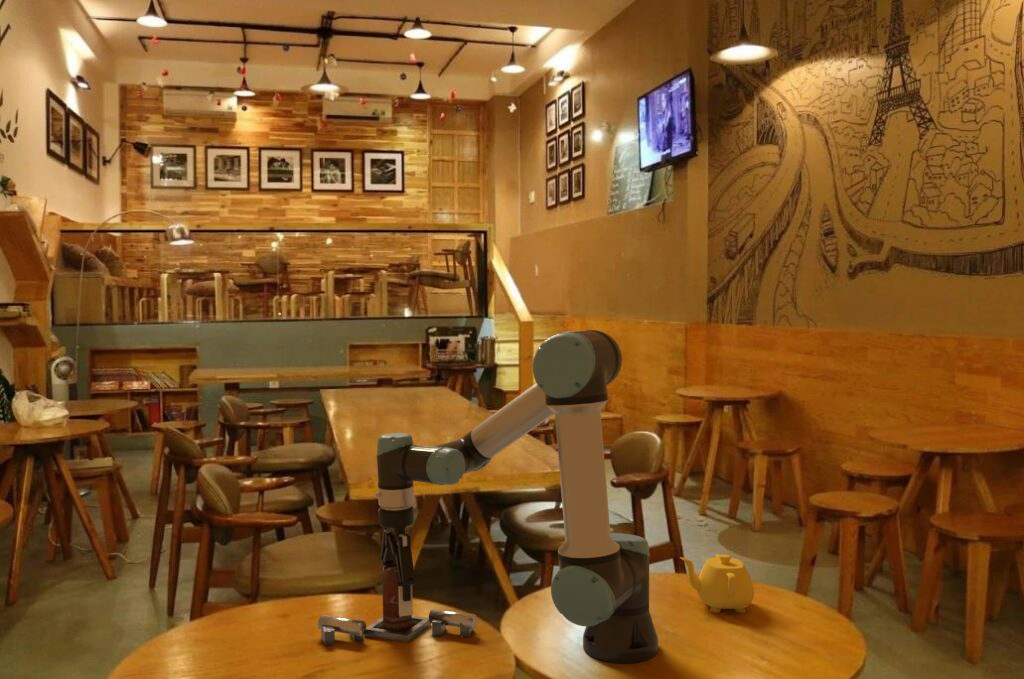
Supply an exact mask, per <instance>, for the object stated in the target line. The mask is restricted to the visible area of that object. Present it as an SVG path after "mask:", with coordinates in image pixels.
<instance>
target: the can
mask: <svg viewBox="0 0 1024 679" xmlns="http://www.w3.org/2000/svg"><path fill="white" fill-rule="evenodd" d="M383 567H384V569H383V570H382V572H381V581H382V582H381V584H382V588H381V589H382V617H383V628H382V629H384V630H390V631H396V632H403V633H405V632H407V631H408V630H410V629H411V628H412V627H413V625H412V616H413V615H408V616H401V617H400V616H399V587H397V583H398V582H400V580H399V575H398V569H397V564H392V565H388V566H383ZM406 579H409V578H406Z"/></svg>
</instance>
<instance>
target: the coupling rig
mask: <svg viewBox="0 0 1024 679" xmlns="http://www.w3.org/2000/svg"><path fill="white" fill-rule="evenodd" d="M477 623H478V617H477V615H476V614H475V613H465V612H460V611H459V612H458V611H452V610H447V609H439V608H431V609H430V611H429V613H428V617H423V616H418V615H412V628H411V629H410V630H408V631H407V632H405V633H403V632H396V631H390V630H384V629H383V616H382V617H380V618H378V619H377V620H376V621H374V622H372V623H371V624H369V625H368V626H367V622H366V621H365V620H360V618H355V619H353V618H346V617H339V616H333V615H327V614H321V615H320V616H319V618H318V621H317V628H318V629H319V630H320V639H321V640H322V641H321V642H322V643H323V645H324V647H329V646H335V645H336V643H335V642H336V640H335V636H336V634H335V633H341V634H347V635H350V637H351V639H352V641H353V642H360V641H361V642H362V641H364V640H365V638H364V636H365V637H369V638H375V639H383V640H387V641H392V642H393V641H394V640H395V641H394V642H399V641H401V642H400V643H405V642H406V643H409V642H410V641H412V640H413V639H414V638H416V637H417V636H419V635H420V634H421V633H423V632H424V631H425V630H427V629H428V628H430V627H431V629H432V630H431V636H432V637H443V634H444V633H445V631H446V630H447V626H448V627H454V628H459V637H460V638H469V637H471V636H472V633H473V631H474V630H475V629H476V627H477ZM461 636H463V637H461Z"/></svg>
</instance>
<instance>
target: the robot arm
mask: <svg viewBox="0 0 1024 679" xmlns="http://www.w3.org/2000/svg"><path fill="white" fill-rule="evenodd" d="M622 366H623V354H622V350H621V348H620V346H619V344H618V342H617V341H616V339H614V338H613V337H612V336H611V335H610V334H608V333H606V332H603V331H601V330H597V329H590V330H589V329H588V330H587V329H586V330H580V331H578V330H577V331H564V332H560V333H558V334H554V335H552V336H550V337H548V338H547V339H545V340H544V341H543V342H542V343H541V344H540V346H539V347H538V348H537V350H536V352H535V354H534V357H533V361H532V374H533V379H534V381H535V383H533V385H531V386H529V387H528V388H527V389H525V390H524V391H523V392H521V393H520V394H519V395H518V396H516V397H514V398H513V399H512V400H511V401H509V402H507V404H505V405H504V406H502V407H501V408H500V409H498V410H497V411H496V412H495V413H493V414H492V415H491V416H489V417H488V418H486V419H485V420H483V421H482V422H481V423H479V424H478V425H476V426H475V427H474V428H473V429H471V430H470V431H468V432H467V433H466V434H465V435H463V436H462V437H460V438H458V439H456V440H452V441H449V442H445V443H441V444H438V445H434V446H431V445H430V446H429V445H418V444H417V445H416V444H414V442H413V436H412V435H411V434H410V433H406V432H392V433H384V434H381V435H380V436H379V437H378V438H377V444H376V445H377V448H376V449H377V450H376V466H377V480H378V481H377V491H378V492H377V491H376V492H375V497H376V498H377V500H378V505H379V506H380V507H379V508H378V510H377V511H378V512H377V514H378V515H377V516H378V517H377V519H378V520H377V522H378V525H379V526H381V527H382V539H381V549H380V557H379V558H380V561H382V562H381V564H382V565H383V567H382V568H383V569H384V567H385V566H388V565H392V564H397V569H398V575H399V580H400V582H398V583H397V587H399V616H400V617H401V616H408V615H412V616H414V615H413V612H414V609H413V585H415V584H416V576H415V570H414V569H415V568H414V561H413V560H414V559H413V554H412V546H411V545H412V544H411V542H412V540H411V539H412V537H411V535H410V534H409V535H408V533H406V528H407V527H410V526H411V525H413V524H414V521H415V510H414V506H413V505H414V504H415V502H414V501H415V500H414V499H415V497H414V496H415V495H414V494H415V491H414V482H419V483H426V484H427V483H428V484H433V485H438V486H446V485H448V486H453V485H456V484H457V483H459V482H460V479H462V478H463V476H464V475H465V474H468V473H472V472H477V471H480V470H481V469H483V468H485V467H486V466H487V465H489V464H490V462H491V460H492V458H494V457H495V456H497V455H498V454H499V453H501V452H502V451H503V450H505V449H507V448H508V447H510V446H512V444H514V443H515V442H516V441H518V440H520V439H521V438H523V437H524V436H526V435H527V434H528V433H529V432H532V430H534V429H535V428H537V427H538V426H539V425H542V424H543V423H544V422H545V421H547V420H548V419H550V418H551V417H553V416H554V419H555V420H554V421H555V431H556V443H557V444H556V445H557V458H558V469H559V470H558V471H559V480H560V493H561V494H560V495H561V504H562V505H561V506H562V517H563V530H564V541H563V543H562V544H561V545H560V546H559V547H558V550H557V555H558V556H557V558H558V568H559V570H558V571H557V572H556V574H555V575H554V577H553V579H552V582H551V585H550V594H551V599H552V602H553V604H554V607H555V608H556V610H557V611H558V613H559V614H560V615H562V616H563V617H564V618H565V619H566V620H567V621H568V622H570V623H572V624H574V625H577V626H580V627H585V628H584V631H583V635H582V647H583V651H584V652H585V653H586V654H587V655H589V656H590V657H592V658H594V659H597V660H600V661H603V662H604V661H605V662H610V663H618V664H631V663H632V664H633V663H639V662H643V661H646V660H649V659H652V658H653V657H655V656H656V655H657V653H658V652H659V637H658V634H657V631H656V627H655V624H654V622H653V619H652V618H653V617H652V616H651V612H650V557H651V554H650V549H649V547H650V546H649V542H648V540H647V539H646V538H644V537H641V536H639V535H635V534H629V533H621V532H619V533H618V532H611V526H610V523H611V522H610V513H609V502H608V501H609V500H608V490H607V489H608V488H607V476H606V475H607V474H606V465H605V464H606V462H605V452H604V451H605V450H604V439H603V438H604V437H603V436H604V435H603V425H602V414H601V413H602V409H603V408H604V407H605V406H606V404H608V402H609V401H608V400H609V399H608V389H607V386H609V385H610V384H612V383H613V382H614V381H615V380H616V379H617V377H618V376H619V374H620V372H621V368H622ZM406 578H409V579H406Z"/></svg>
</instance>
